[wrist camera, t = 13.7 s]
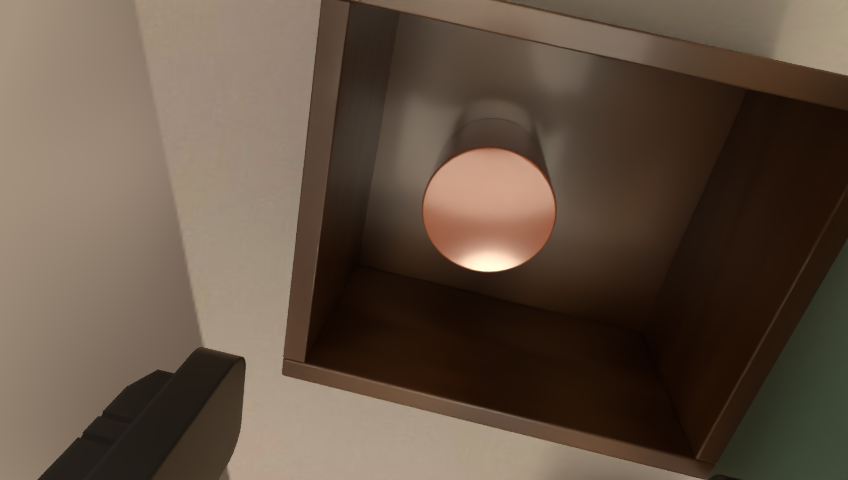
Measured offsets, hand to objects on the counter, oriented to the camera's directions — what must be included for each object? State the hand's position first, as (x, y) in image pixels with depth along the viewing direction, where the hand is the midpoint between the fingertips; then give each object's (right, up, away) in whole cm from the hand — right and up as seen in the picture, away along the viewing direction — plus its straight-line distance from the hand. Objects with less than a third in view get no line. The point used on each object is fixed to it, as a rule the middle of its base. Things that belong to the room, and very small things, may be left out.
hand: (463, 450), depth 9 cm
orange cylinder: (+2, +7, +15) cm, 16 cm away
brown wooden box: (+4, +6, +15) cm, 17 cm away
